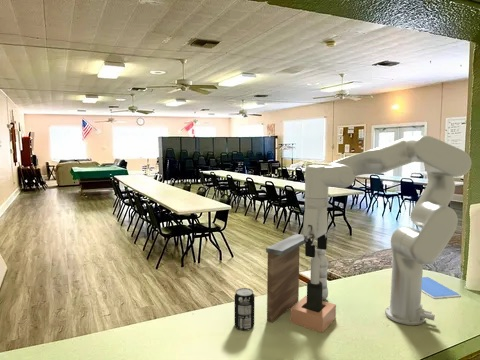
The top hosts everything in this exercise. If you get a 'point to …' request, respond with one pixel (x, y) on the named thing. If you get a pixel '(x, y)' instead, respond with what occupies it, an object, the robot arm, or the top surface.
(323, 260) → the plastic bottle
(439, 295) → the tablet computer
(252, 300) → the beverage can
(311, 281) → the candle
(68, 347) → the top surface
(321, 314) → the socket block
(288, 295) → the brown board grey top
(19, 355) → the top surface
